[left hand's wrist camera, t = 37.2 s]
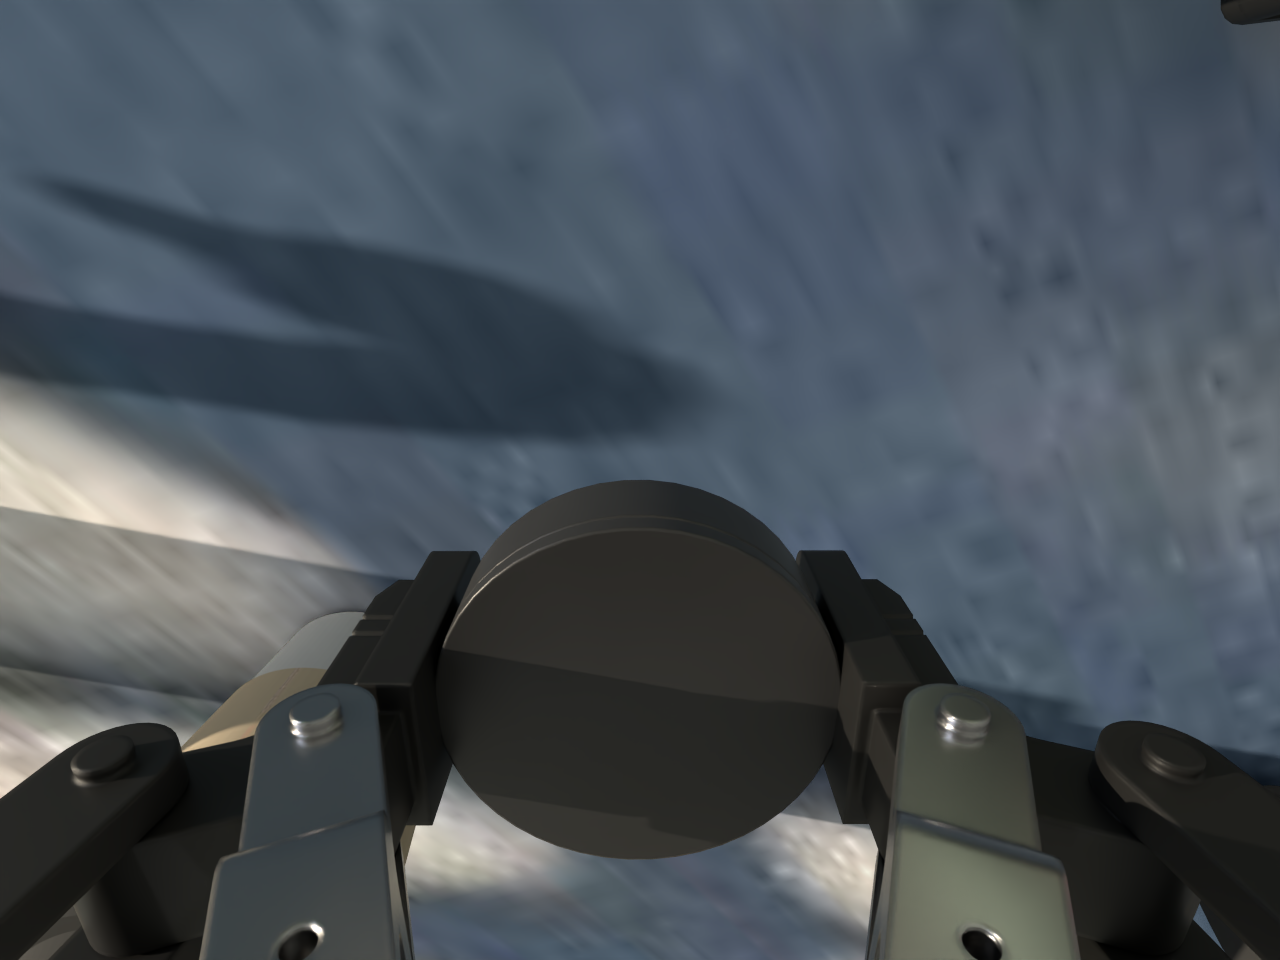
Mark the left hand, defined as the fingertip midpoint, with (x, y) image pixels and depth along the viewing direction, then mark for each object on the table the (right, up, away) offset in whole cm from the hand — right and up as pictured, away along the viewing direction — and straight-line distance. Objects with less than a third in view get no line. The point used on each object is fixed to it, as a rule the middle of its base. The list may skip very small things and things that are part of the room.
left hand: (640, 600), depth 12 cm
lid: (0, -1, -2) cm, 3 cm away
